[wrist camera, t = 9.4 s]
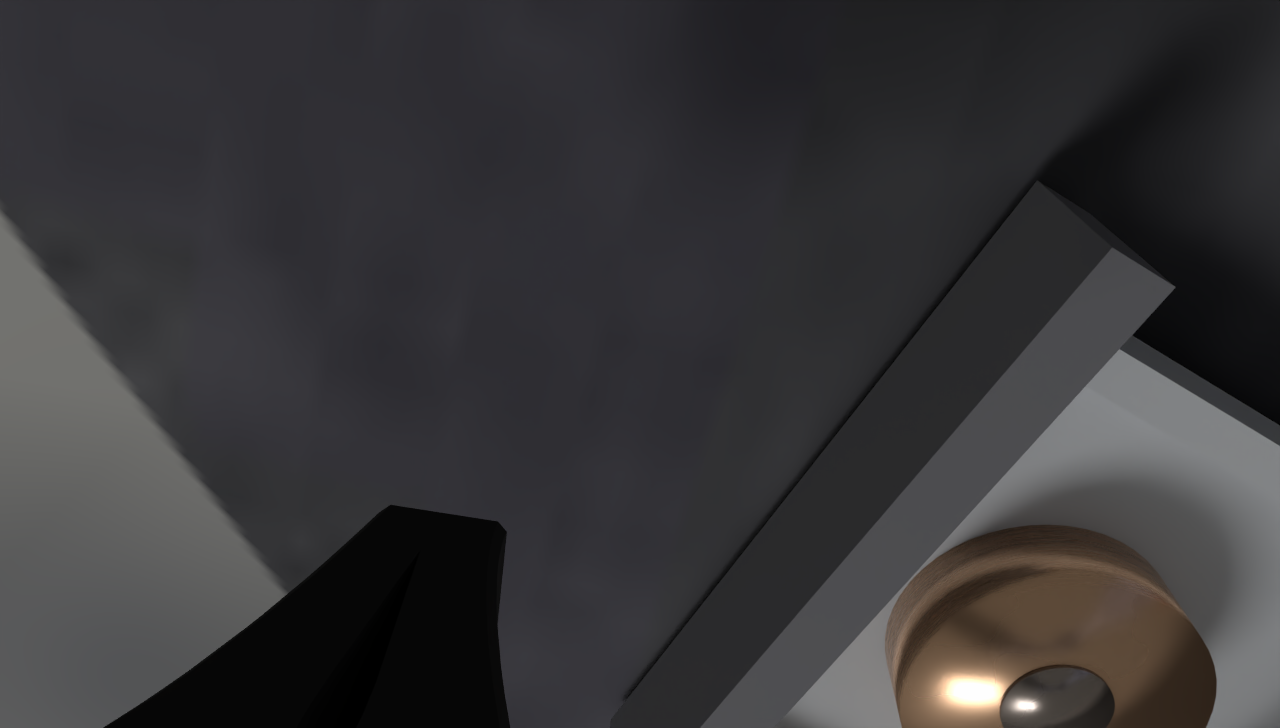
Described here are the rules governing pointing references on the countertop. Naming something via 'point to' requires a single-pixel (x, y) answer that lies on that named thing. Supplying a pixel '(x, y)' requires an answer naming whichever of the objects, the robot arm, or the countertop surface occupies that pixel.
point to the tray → (997, 491)
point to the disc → (1045, 638)
